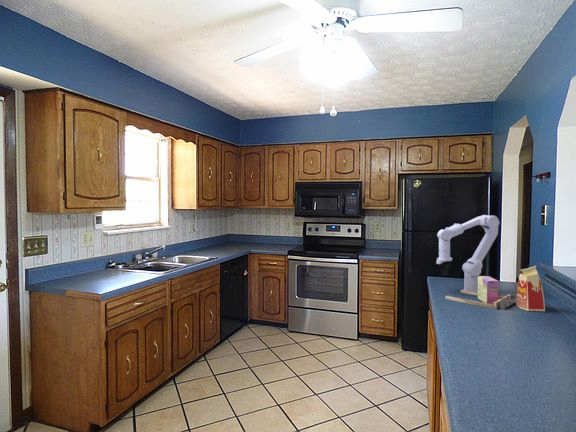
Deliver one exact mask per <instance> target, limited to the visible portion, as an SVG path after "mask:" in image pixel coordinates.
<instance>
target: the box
mask: <svg viewBox="0 0 576 432" xmlns="http://www.w3.org/2000/svg"><path fill="white" fill-rule="evenodd" d="M499 292H500V280H497V279H495V278H493V277H492V276H489V275H479V276H478V296H477V299H478V300H479V301H481V302H482V303H487V304H492V305H494V302H495V301H497V300H499V296H500V295H499V294H500V293H499Z"/></svg>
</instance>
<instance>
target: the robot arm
mask: <svg viewBox="0 0 576 432" xmlns="http://www.w3.org/2000/svg"><path fill="white" fill-rule="evenodd" d="M500 222H501V221H500V220H499V218H498V217H497V216H496V215H487V214H482V215H479V216H476V217H474V218H472V219H470V220H468V221H466V222H464V223H453V225H451V226H449V227H445V229H440V230H439V231H437V234H436V236H437V238H438V257H436V261H435V262H436V265H438V266H439V269H440V272H441V275H442V276H447V275H448V272H449V268H450V266H451V265H452V261H453V257H451V239H452V238H454V237H457V236H458V235H461V234H463V233H464V231H465V230H468V229H471V228H473V227H475V226H481V228H483V229H484V232H485V234H484V236H483V237H482V239H481V241H480V242H479V245H478V246H477V248H476V249H475V251H474V253H473V255H472V257H470V258H468V259H467V260H466V261H465V262H464V263H463V264H462V268H461V270H462V271H463V272H464V274H463V275H464V276H463V277H464V279H463V280H464V281H463V282H464V286H463V289H462V290H467V291H473V292H478V276H481V274H482V268H483V261H484V259H485V257H486V256H487V253H488V252H489V251H490V249H491V247H492V245H493V244H494V241H495V240H496V239H497V236H498V235H499V225H500V224H501V223H500Z"/></svg>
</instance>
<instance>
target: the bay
mask: <svg viewBox="0 0 576 432" xmlns="http://www.w3.org/2000/svg"><path fill="white" fill-rule="evenodd" d="M460 293H461V294H466V295H467V294H468V295H472V296H477V297H478V292H473V291H467V290H463V289H460ZM445 299H446V300H449V301H454V302H460V303H464V304H469V305H474V306H480V307H484V308H488V309H493V310H497V309H500V310H504V311H505V310H506V309H507V308H509V307H510V306H512V305H514V304H516V303H517V294H513V293H511V294H507V295H505V296H502V295H501V296H500V295H499V299H498V300H497V301H495V302H494V304H487V303H484V302H483V301H481V302H480V301H476V300H471V299H465V298H462V297H461V298H460V297H455V296H451V295H445Z"/></svg>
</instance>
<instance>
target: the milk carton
mask: <svg viewBox="0 0 576 432" xmlns="http://www.w3.org/2000/svg"><path fill="white" fill-rule="evenodd" d="M536 268H537V265H534V266H530V267H528V268H523V269H522V268H521V269H520V273H519V277H518V282H517V288H516V289H517V290H516V303H515V304H516V306H517V308H520V309H521V310H524V311H527V312H534V311H535V312H546V308H545V307H546V305H545V295H544V290H543V285H542V282H541V278H540V275H539V273H538V271H537V269H536Z"/></svg>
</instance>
